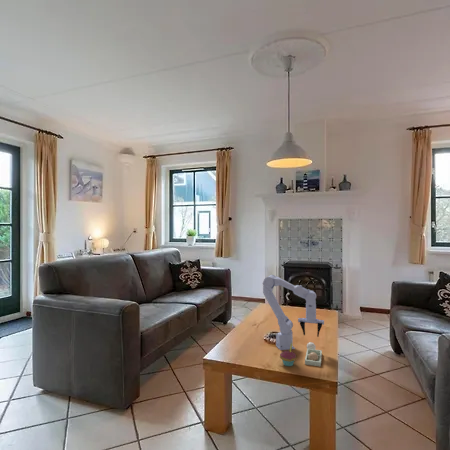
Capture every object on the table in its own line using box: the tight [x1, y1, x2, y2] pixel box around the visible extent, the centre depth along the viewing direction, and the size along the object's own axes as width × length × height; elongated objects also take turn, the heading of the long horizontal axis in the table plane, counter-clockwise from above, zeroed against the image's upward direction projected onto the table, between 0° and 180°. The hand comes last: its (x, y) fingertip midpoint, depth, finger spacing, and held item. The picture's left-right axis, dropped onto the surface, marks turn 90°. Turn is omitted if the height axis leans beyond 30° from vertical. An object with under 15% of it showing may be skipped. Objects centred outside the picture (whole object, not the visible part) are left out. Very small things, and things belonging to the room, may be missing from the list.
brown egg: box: [308, 352, 318, 361], centre depth 165 cm, size 5×5×5 cm
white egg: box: [306, 341, 317, 350], centre depth 181 cm, size 5×5×5 cm
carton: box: [304, 348, 323, 367], centre depth 169 cm, size 16×8×2 cm, turn 161°
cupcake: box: [279, 343, 297, 367], centre depth 163 cm, size 9×8×12 cm
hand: (311, 335), depth 180 cm, fingers open, 7 cm apart
